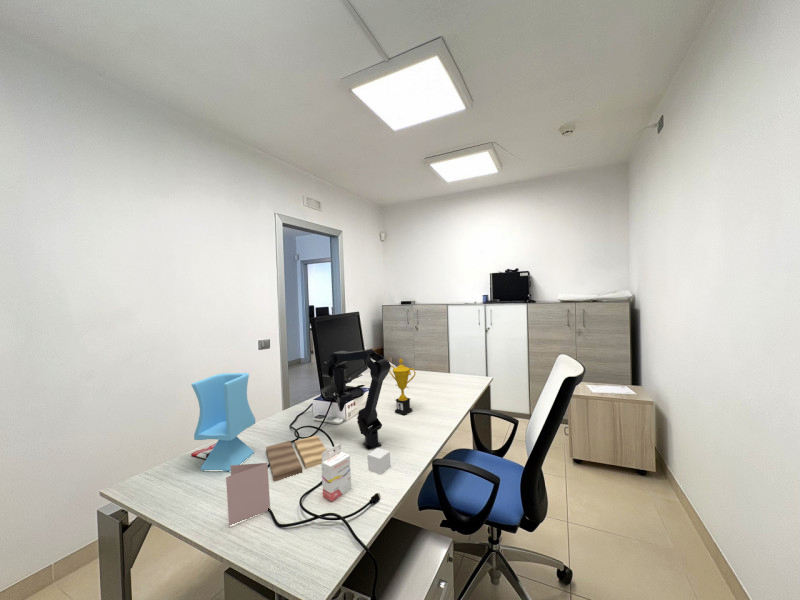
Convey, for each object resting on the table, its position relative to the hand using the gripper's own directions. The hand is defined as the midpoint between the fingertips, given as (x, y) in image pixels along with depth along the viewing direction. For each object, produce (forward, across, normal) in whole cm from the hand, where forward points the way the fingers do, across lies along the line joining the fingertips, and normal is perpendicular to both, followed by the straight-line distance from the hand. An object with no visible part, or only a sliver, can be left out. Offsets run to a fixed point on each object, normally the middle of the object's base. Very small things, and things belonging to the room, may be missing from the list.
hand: (341, 411), depth 144 cm
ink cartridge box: (+12, +39, -15) cm, 44 cm away
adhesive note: (+12, +34, +3) cm, 36 cm away
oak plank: (+12, +7, -16) cm, 21 cm away
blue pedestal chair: (+12, -6, -47) cm, 49 cm away
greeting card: (+12, +35, -42) cm, 56 cm away
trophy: (+12, -8, +38) cm, 41 cm away
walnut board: (+12, +7, -28) cm, 31 cm away
